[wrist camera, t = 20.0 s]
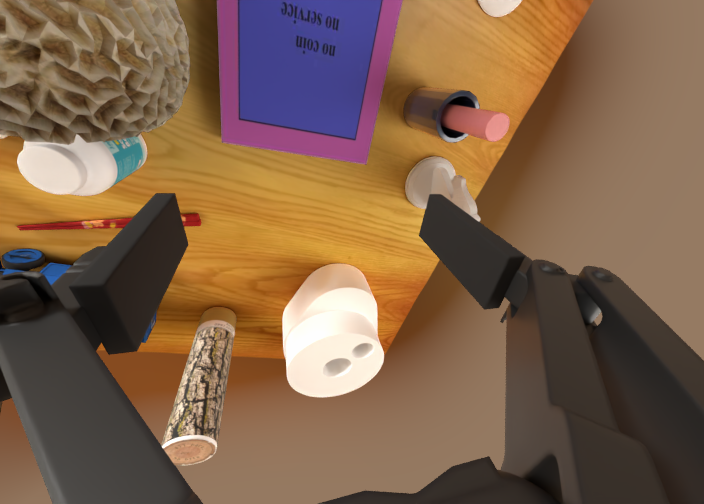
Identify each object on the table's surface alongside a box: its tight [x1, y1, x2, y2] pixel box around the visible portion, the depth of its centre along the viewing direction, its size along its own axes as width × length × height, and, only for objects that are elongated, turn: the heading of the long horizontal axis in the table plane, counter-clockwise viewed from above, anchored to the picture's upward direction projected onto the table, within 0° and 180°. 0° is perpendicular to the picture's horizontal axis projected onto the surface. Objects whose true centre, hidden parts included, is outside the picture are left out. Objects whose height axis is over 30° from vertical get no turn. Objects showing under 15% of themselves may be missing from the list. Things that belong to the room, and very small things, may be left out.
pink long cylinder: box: [440, 104, 509, 142], centre depth 36 cm, size 3×3×18 cm
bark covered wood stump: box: [161, 307, 237, 465], centre depth 47 cm, size 7×7×25 cm
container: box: [282, 263, 384, 397], centre depth 57 cm, size 20×25×14 cm
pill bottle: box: [17, 134, 147, 196], centre depth 32 cm, size 8×7×14 cm
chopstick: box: [17, 213, 201, 230], centre depth 42 cm, size 2×24×1 cm, turn 88°
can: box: [404, 87, 480, 143], centre depth 40 cm, size 6×6×11 cm
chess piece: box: [405, 156, 481, 222], centre depth 46 cm, size 10×10×15 cm
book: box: [217, 0, 403, 165], centre depth 34 cm, size 21×3×30 cm
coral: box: [0, 0, 190, 145], centre depth 23 cm, size 23×18×15 cm
